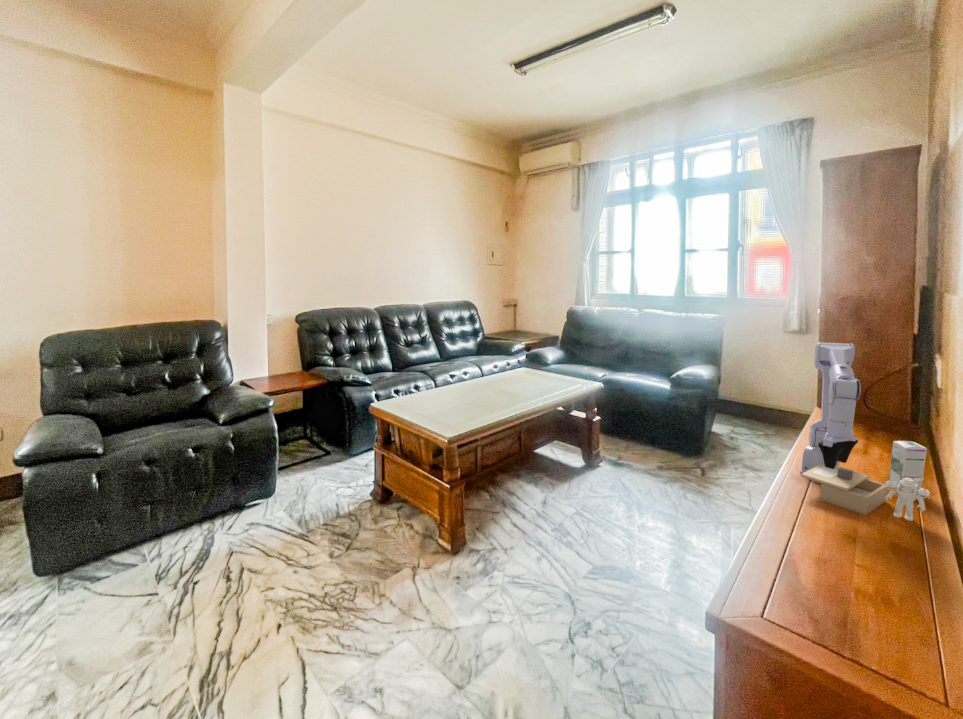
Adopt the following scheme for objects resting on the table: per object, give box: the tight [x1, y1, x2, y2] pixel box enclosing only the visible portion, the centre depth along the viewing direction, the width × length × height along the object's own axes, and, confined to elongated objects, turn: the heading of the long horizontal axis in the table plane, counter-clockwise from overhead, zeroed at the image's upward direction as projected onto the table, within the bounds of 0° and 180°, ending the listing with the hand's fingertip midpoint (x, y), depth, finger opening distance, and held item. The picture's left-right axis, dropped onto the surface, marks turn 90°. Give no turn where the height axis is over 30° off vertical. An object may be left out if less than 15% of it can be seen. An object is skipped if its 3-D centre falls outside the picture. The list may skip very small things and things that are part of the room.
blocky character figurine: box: [884, 476, 931, 522], centre depth 123 cm, size 9×4×12 cm, turn 40°
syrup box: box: [888, 440, 928, 491], centre depth 138 cm, size 6×6×14 cm
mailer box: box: [819, 478, 889, 516], centre depth 133 cm, size 11×14×5 cm
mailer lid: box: [800, 463, 870, 491], centre depth 137 cm, size 12×15×3 cm
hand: (835, 464), depth 134 cm, fingers open, 7 cm apart
